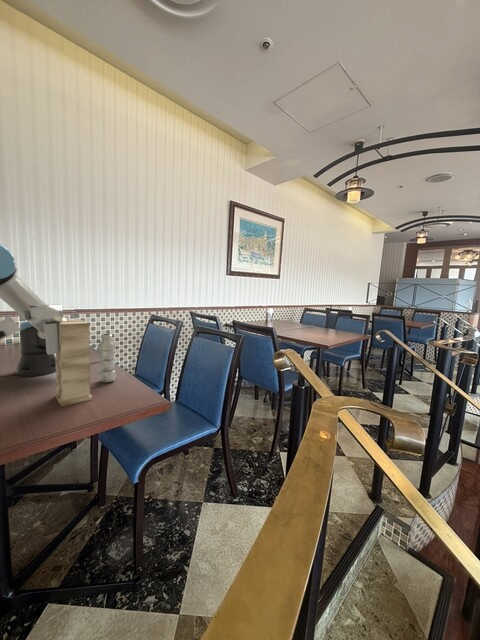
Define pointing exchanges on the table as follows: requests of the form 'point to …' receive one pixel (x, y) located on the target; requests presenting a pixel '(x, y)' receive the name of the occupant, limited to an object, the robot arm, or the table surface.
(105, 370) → the plastic bottle
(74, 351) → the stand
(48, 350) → the grey round-headed handle
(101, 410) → the table surface
